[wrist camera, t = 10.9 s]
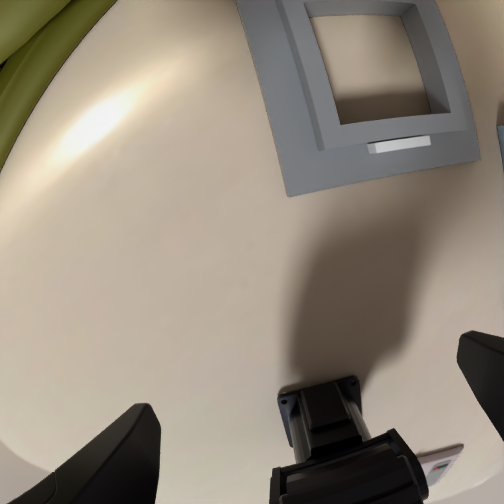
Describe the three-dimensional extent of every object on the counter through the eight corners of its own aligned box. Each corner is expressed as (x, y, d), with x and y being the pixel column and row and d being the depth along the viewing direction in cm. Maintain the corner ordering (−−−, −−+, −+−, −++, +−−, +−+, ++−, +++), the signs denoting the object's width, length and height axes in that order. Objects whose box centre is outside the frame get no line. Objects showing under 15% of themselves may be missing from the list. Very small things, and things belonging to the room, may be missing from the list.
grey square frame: (474, 159, 19) (494, 160, 17) (287, 196, 19) (293, 200, 17) (420, -17, 15) (434, -29, 13) (231, -13, 16) (230, -31, 13)
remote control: (449, 471, 30) (457, 485, 27) (350, 494, 29) (356, 512, 26) (471, 439, 28) (481, 453, 25) (368, 462, 27) (376, 482, 24)
